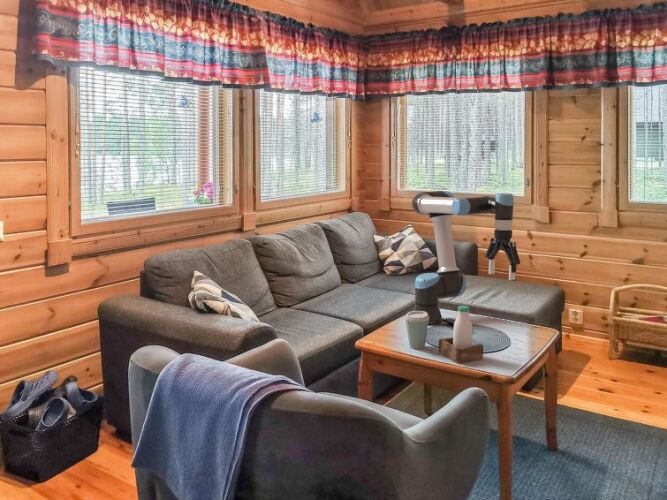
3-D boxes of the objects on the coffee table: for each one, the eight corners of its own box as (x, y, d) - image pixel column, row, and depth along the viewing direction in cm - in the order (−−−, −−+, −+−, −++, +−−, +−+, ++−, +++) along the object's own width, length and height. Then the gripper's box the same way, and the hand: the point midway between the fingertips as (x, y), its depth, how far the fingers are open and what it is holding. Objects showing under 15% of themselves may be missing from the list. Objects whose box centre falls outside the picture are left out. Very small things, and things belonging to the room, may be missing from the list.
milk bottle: (472, 357, 243) (473, 309, 240) (452, 355, 245) (453, 308, 242) (471, 350, 251) (473, 304, 247) (452, 349, 252) (454, 303, 249)
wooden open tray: (438, 353, 251) (438, 339, 250) (462, 349, 256) (462, 335, 255) (458, 364, 239) (458, 349, 238) (482, 359, 243) (483, 345, 242)
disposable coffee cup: (424, 352, 252) (424, 318, 250) (400, 348, 258) (400, 314, 255) (432, 345, 262) (433, 311, 259) (409, 341, 267) (409, 308, 264)
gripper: (530, 232, 251) (527, 281, 254) (491, 225, 273) (490, 270, 277) (516, 233, 248) (513, 283, 251) (478, 226, 270) (477, 272, 274)
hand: (501, 276), depth 264 cm, fingers open, 13 cm apart
